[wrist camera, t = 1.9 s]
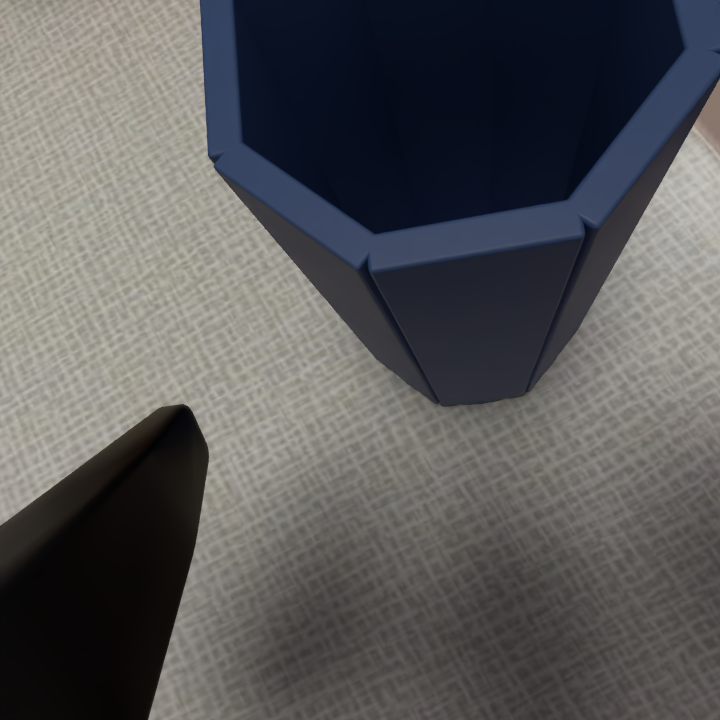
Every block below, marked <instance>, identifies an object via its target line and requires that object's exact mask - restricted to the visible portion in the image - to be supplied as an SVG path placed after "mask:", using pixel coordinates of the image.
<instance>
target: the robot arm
mask: <svg viewBox="0 0 720 720" xmlns="http://www.w3.org/2000/svg"><path fill="white" fill-rule="evenodd" d="M208 462H209V451H208V446H207V443H206V441H205V439H204V437H203V434H202V432H201V430H200V428H199V425H198V423H197V421H196V419H195V417H194V414H193V412H192V411H191V409H190V408H189V407H188V406H186V405H184V404H180V405H173V406H165V407H161V408H159V409H157V410H156V411H154V412H153V413H152V414H150V415H149V416H148V417H146V418H145V419H144V420H142V421H141V422H140V423H138V424H137V425H136V426H134V427H133V428H131V429H130V430H129V431H127V432H126V433H125V434H123V435H122V436H121V437H119V438H118V439H117V440H115V441H114V442H113V443H111V444H110V445H109V446H107V447H106V448H105V449H103V450H102V451H101V452H99V453H98V454H97V455H95V456H94V457H93V458H91V459H90V460H88V461H87V462H86V463H84V464H83V465H82V466H80V467H79V468H78V469H76V470H75V471H74V472H72V473H71V474H70V475H68V476H67V477H66V478H64V479H63V480H62V481H60V482H59V483H58V484H56V485H55V486H54V487H52V488H51V489H50V490H48V491H47V492H45V493H44V494H43V495H41V496H40V497H39V498H37V499H36V500H35V501H33V502H32V503H31V504H29V505H28V506H27V507H25V508H24V509H23V510H21V511H20V512H19V513H17V514H16V515H15V516H13V517H12V518H11V519H9V520H8V521H6V522H5V523H4V524H2V525H1V526H0V720H148V718H149V714H150V711H151V707H152V703H153V700H154V696H155V692H156V689H157V685H158V681H159V678H160V674H161V670H162V667H163V663H164V659H165V656H166V652H167V648H168V645H169V641H170V637H171V634H172V630H173V627H174V623H175V619H176V616H177V612H178V608H179V605H180V601H181V597H182V594H183V590H184V586H185V583H186V579H187V575H188V572H189V568H190V564H191V561H192V557H193V553H194V548H195V544H196V538H197V533H198V527H199V520H200V514H201V507H202V501H203V494H204V488H205V481H206V475H207V468H208Z"/></svg>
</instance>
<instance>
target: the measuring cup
mask: <svg viewBox="0 0 720 720" xmlns="http://www.w3.org/2000/svg"><path fill="white" fill-rule="evenodd" d="M200 11H201V30H202V49H203V68H204V87H205V106H206V125H207V144H208V156H209V158H210V159H211V161H212V162H213V163H214V168H215V170H216V171H217V172H218V173H219V175H220V176H221V177H222V178H223V179H224V181H225V182H226V183H227V184H228V185H229V186H230V188H231V189H232V190H233V191H234V192H235V193H236V195H237V196H238V197H239V198H240V199H241V200H242V202H243V203H244V204H245V205H246V206H247V208H248V209H249V210H250V211H251V212H252V213H253V215H254V216H255V217H256V218H257V219H258V220H259V222H260V223H261V224H262V225H263V226H264V227H265V229H266V230H267V231H268V232H269V233H270V235H271V236H272V237H273V238H274V239H275V240H276V242H277V243H278V244H279V245H280V246H281V247H282V249H283V250H284V251H285V252H286V253H287V254H288V256H289V257H290V258H291V259H292V260H293V262H294V263H295V264H296V265H297V266H298V267H299V269H300V270H301V271H302V272H303V273H304V274H305V276H306V277H307V278H308V279H309V280H310V281H311V283H312V284H313V285H314V286H315V287H316V289H317V290H318V291H319V292H320V293H321V294H322V296H323V297H324V298H325V299H326V300H327V301H328V303H329V304H330V305H331V306H332V307H333V308H334V310H335V311H336V312H337V313H338V314H339V316H340V317H341V318H342V319H343V320H344V321H345V323H346V324H347V325H348V326H349V327H350V328H351V330H352V331H353V332H354V333H355V334H356V335H357V337H358V338H359V339H360V340H361V341H362V343H363V344H364V345H365V346H366V347H367V348H368V350H369V351H370V352H371V353H372V354H373V355H374V357H375V358H376V359H377V360H379V361H380V362H381V363H383V364H384V365H385V366H386V367H388V368H389V369H390V370H392V371H393V372H394V373H396V374H397V375H398V376H399V377H400V378H401V379H403V380H404V381H405V382H406V383H407V384H408V385H410V386H411V387H413V388H415V389H416V390H418V391H419V392H421V393H422V394H423V395H425V396H426V397H427V398H428V399H430V400H431V401H432V402H434V403H435V404H438V403H439V402H440V403H441V405H442V406H448V405H455V404H483V403H488V402H494V401H498V400H501V399H504V398H510V397H518V396H523V395H524V393H525V391H526V392H530V391H531V389H532V388H533V387H534V385H535V384H536V383H537V382H538V380H539V379H540V378H541V376H542V375H543V374H544V373H545V371H546V370H547V369H548V368H549V367H550V366H551V365H552V363H553V362H554V360H555V359H556V357H557V356H558V354H559V353H560V352H561V350H562V349H563V348H564V347H565V345H566V344H567V343H568V341H569V340H570V339H571V338H572V336H573V335H574V334H575V332H576V331H577V330H578V328H579V326H580V324H581V323H582V321H583V319H584V317H585V316H586V314H587V312H588V310H589V308H590V307H591V305H592V303H593V301H594V300H595V298H596V296H597V294H598V293H599V291H600V289H601V287H602V285H603V284H604V282H605V280H606V278H607V277H608V275H609V273H610V271H611V270H612V268H613V266H614V264H615V263H616V261H617V259H618V257H619V255H620V254H621V252H622V250H623V248H624V247H625V245H626V243H627V241H628V240H629V238H630V236H631V234H632V232H633V231H634V229H635V227H636V225H637V224H638V222H639V220H640V218H641V217H642V215H643V213H644V211H645V210H646V208H647V206H648V204H649V202H650V201H651V199H652V197H653V195H654V194H655V192H656V190H657V188H658V187H659V185H660V183H661V181H662V179H663V178H664V176H665V174H666V172H667V171H668V169H669V167H670V165H671V164H672V162H673V160H674V158H675V157H676V155H677V153H678V151H679V149H680V148H681V146H682V144H683V142H684V141H685V139H686V137H687V135H688V134H689V132H690V130H691V128H692V126H693V125H694V123H695V121H696V119H697V118H698V116H699V114H700V112H701V110H702V108H703V107H704V105H705V104H706V102H707V100H708V98H709V96H710V95H711V93H712V91H713V89H714V88H715V86H716V84H717V82H718V81H719V79H720V0H200Z"/></svg>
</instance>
